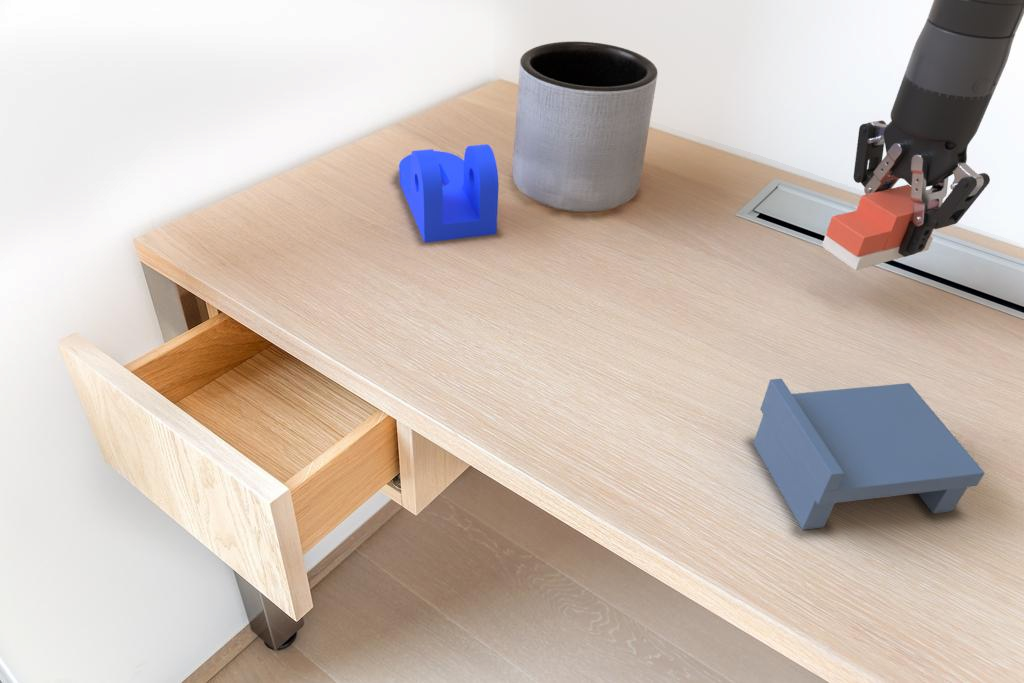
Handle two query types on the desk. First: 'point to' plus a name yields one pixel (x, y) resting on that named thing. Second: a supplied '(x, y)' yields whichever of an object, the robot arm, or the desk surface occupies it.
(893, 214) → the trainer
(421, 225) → the bracket
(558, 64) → the planter
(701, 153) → the desk surface
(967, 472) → the shoe shelf
